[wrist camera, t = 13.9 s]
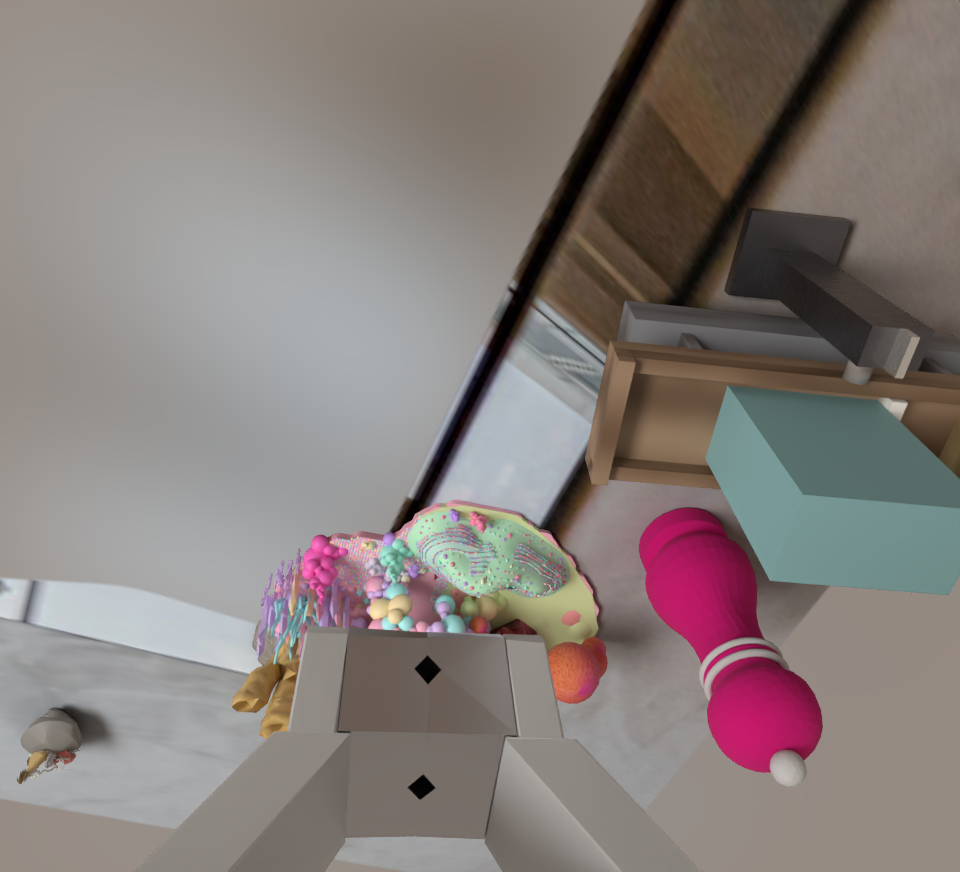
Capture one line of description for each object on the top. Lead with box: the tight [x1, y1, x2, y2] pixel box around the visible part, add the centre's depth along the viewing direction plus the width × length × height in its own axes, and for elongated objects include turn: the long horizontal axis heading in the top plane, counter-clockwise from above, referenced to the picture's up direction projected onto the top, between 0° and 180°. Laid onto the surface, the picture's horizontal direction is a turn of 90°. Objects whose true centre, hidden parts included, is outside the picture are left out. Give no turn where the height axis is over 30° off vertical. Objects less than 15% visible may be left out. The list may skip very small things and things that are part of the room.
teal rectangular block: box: [706, 385, 960, 595], centre depth 36 cm, size 4×8×10 cm, turn 84°
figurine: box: [17, 708, 82, 784], centre depth 59 cm, size 5×4×6 cm
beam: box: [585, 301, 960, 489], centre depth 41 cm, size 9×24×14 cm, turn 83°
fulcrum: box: [724, 208, 935, 379], centre depth 44 cm, size 18×6×14 cm, turn 173°
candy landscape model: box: [232, 500, 608, 739], centre depth 55 cm, size 25×24×9 cm
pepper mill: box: [639, 508, 823, 787], centre depth 48 cm, size 7×7×20 cm
